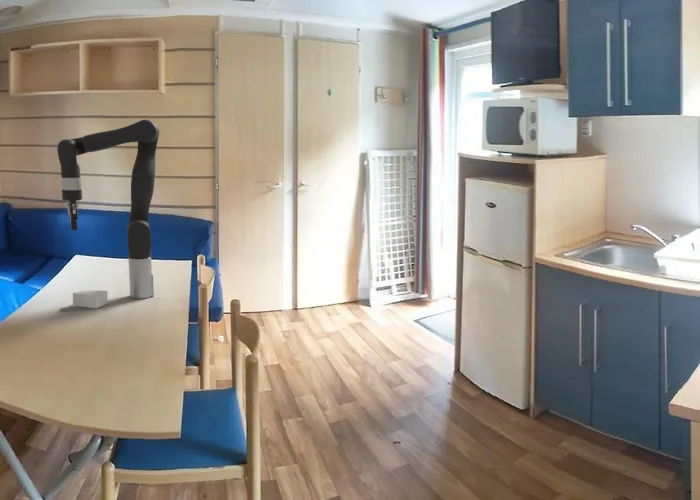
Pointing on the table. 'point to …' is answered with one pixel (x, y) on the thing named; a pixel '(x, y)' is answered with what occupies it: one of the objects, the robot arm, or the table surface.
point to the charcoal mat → (73, 308)
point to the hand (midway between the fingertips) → (74, 229)
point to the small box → (90, 298)
